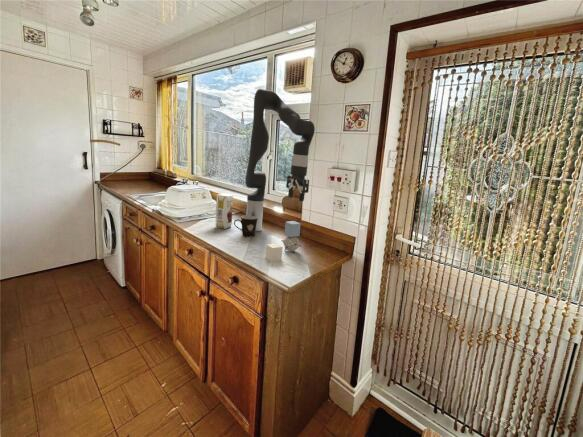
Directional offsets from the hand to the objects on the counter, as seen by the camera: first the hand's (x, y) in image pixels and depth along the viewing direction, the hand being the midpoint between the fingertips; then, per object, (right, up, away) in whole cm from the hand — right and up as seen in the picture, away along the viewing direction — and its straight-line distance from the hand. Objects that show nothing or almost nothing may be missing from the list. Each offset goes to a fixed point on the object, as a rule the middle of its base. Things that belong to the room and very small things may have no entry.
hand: (295, 199), depth 142 cm
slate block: (-2, -17, -3) cm, 17 cm away
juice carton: (-41, -14, +30) cm, 53 cm away
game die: (-2, -25, -2) cm, 25 cm away
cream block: (-10, -26, -13) cm, 31 cm away
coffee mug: (-27, -18, +18) cm, 37 cm away
